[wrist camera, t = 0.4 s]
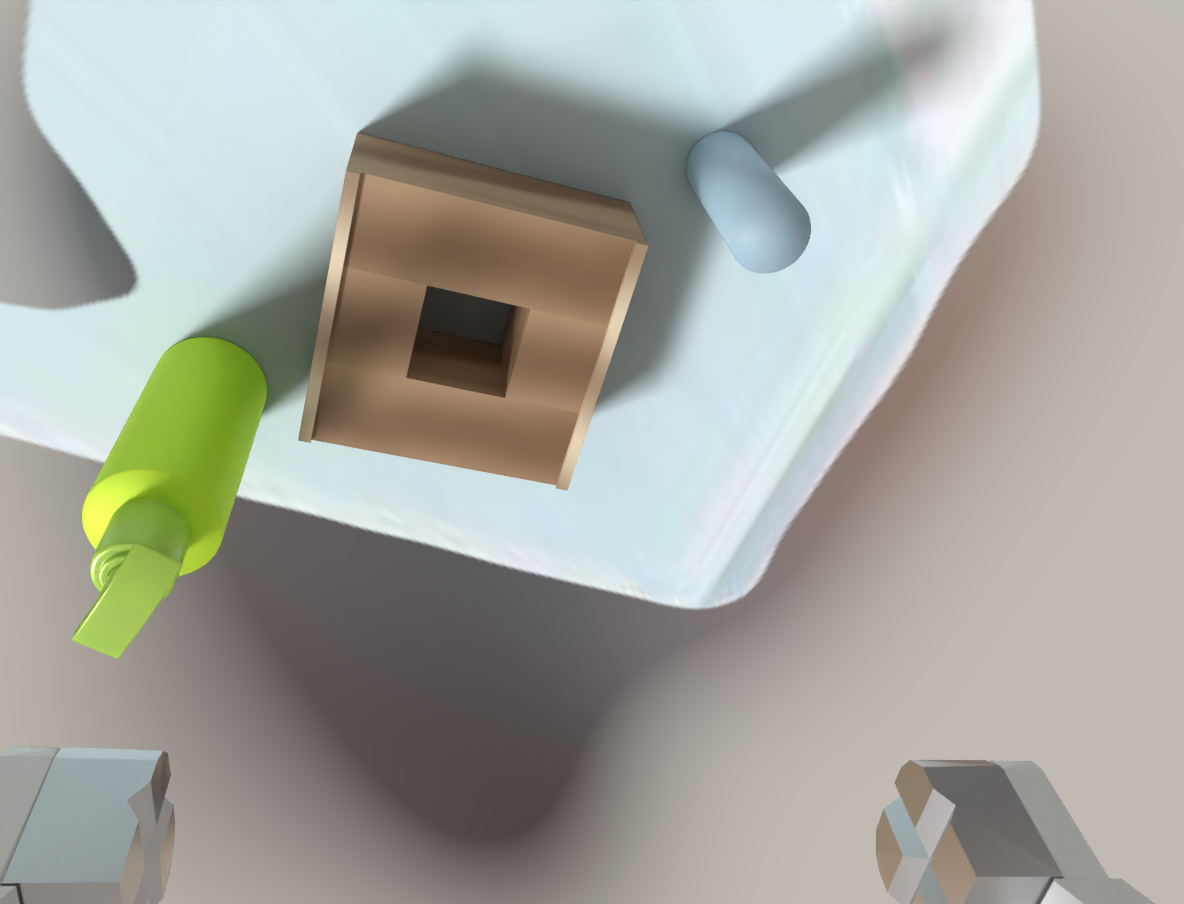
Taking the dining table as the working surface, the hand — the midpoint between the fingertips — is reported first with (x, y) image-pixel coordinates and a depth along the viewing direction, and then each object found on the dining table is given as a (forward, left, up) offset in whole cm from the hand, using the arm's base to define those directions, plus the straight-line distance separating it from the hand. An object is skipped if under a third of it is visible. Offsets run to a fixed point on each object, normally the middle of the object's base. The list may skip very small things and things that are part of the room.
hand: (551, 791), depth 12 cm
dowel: (+3, +13, -44) cm, 47 cm away
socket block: (+13, +2, -44) cm, 46 cm away
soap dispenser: (+21, -10, -45) cm, 50 cm away
